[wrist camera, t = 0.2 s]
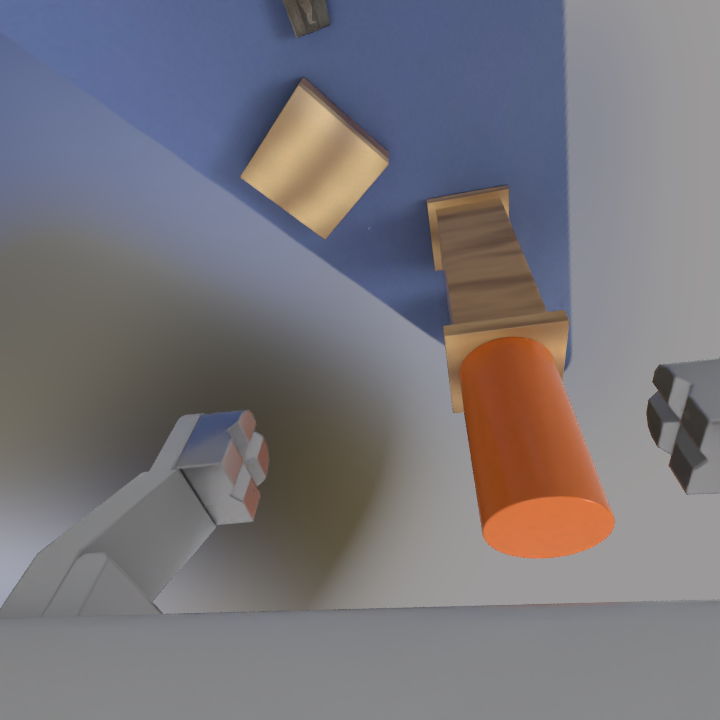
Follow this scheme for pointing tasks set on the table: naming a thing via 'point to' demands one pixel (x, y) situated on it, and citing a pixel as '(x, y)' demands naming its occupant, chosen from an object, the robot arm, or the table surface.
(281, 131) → the low stand
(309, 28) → the block
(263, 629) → the robot arm
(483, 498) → the orange cylinder
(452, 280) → the tall stand
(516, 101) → the table surface
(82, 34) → the table surface
